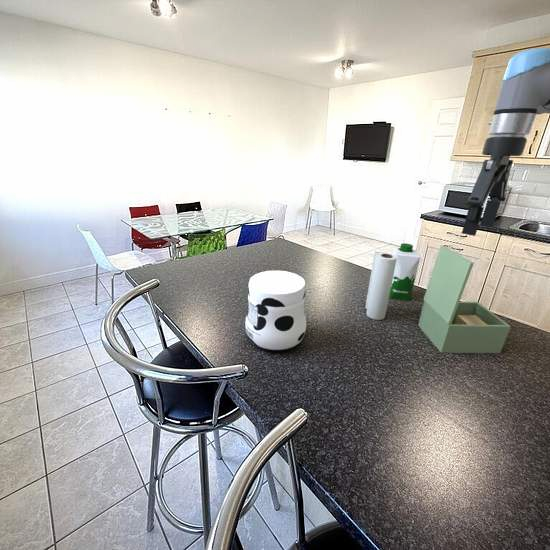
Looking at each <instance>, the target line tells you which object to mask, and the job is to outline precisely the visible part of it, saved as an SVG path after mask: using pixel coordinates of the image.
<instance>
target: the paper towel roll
mask: <svg viewBox="0 0 550 550" xmlns="http://www.w3.org/2000/svg"><path fill="white" fill-rule="evenodd" d="M396 261H397V257H396V256H395V255H393V253H390V252H389V253H388V252H382V251H377V250H374V254H373V259H372V265H371V271H370V277H369V284H368V288H367V295H366V301H365V307H364V308H365V310H366V314H365V315H366V316H367V318H370V319H372V320H376V321H381V320H384V319H385V318H386V315H387V314H386V313H387V310H388V304H389V300H390V298H389V295H390V290H391V285H392V280H393V275H394V270H395V265H396Z"/></svg>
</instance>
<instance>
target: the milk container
mask: <svg viewBox="0 0 550 550" xmlns="http://www.w3.org/2000/svg"><path fill="white" fill-rule="evenodd" d="M247 286H248V287H247V293H248V294H247V302H248V303H247V304H248V307H247V313H246V316H245V323H244V324H245V325H244V326H245V333H246V335H247V337H248V339H249V341H250V342H251V343H252V344H253V345H254V346H256V347H259V348H261V349H264V350H267V351H275V352H276V351H285V350H286V351H287V350H289V349H292V348H294V347H296V346H297V345H299V344H300V343H301V342H302V341H303V339H304V337H305V334H306V330H307V317H306V313H305V303H306V291H307V290H306V280H305V279H304V278H303V277H302V276H300V275H299V274H297V273H295V272H290V271H286V270H265V271H261V272H258V273H256V274H254V275H252V276H251V277H250V278H249V281H248V285H247Z"/></svg>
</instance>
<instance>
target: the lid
mask: <svg viewBox="0 0 550 550" xmlns="http://www.w3.org/2000/svg"><path fill="white" fill-rule="evenodd" d="M474 264H475V263H474V262H473V261H471V260H470V259H468V258H466V257H465V256H462V255H461V254H459V253H457V252H455V251H454V250H452V249H450V248H449V247H447V246H446V245H444V244H443V245H442V244H441V245H440V246H439V249H438V252H437V255H436V258H435V262H434V265H433V268H432V272H431V274H430V278H429V281H428V283H427V286H426V289H425V293H424V296H423V302H424V301H425V302H426V303H427V304H428V305H429V306H430V307H431V308H432V309H433V310H434V311H435V312H436V313H437V314H439V315H440V316H441V317H442V318H443V319H444V320H445V321H446V322H447V323H448V324H451V323H452V320H453V318H454V315H455V312H456V310H457V307H458V304H459V302H460V301H461V299H462V297H463V294H464V291H465V288H466V285H467V282H468V280H469V278H470V275H471V273H472V270H473V267H474Z"/></svg>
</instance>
